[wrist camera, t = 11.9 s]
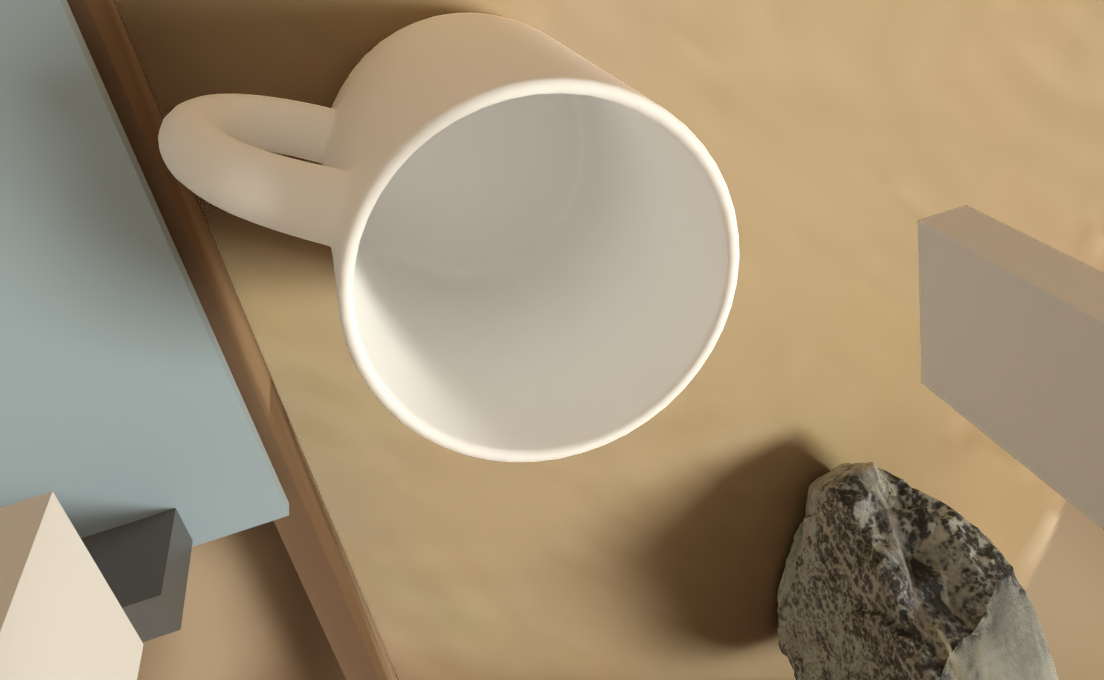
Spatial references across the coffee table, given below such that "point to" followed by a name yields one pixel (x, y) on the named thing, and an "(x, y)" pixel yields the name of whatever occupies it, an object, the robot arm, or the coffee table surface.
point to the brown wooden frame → (307, 533)
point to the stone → (901, 590)
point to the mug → (489, 231)
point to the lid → (108, 338)
